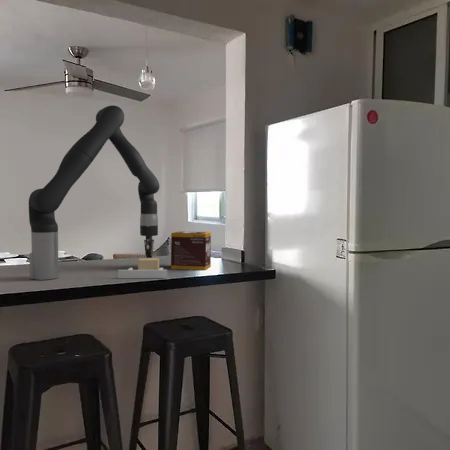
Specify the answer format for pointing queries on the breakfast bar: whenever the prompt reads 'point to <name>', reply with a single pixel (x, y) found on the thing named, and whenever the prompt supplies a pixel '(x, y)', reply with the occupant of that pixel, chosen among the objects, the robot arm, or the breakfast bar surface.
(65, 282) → the breakfast bar surface
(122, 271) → the display stand
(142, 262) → the carton
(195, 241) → the supplement box
